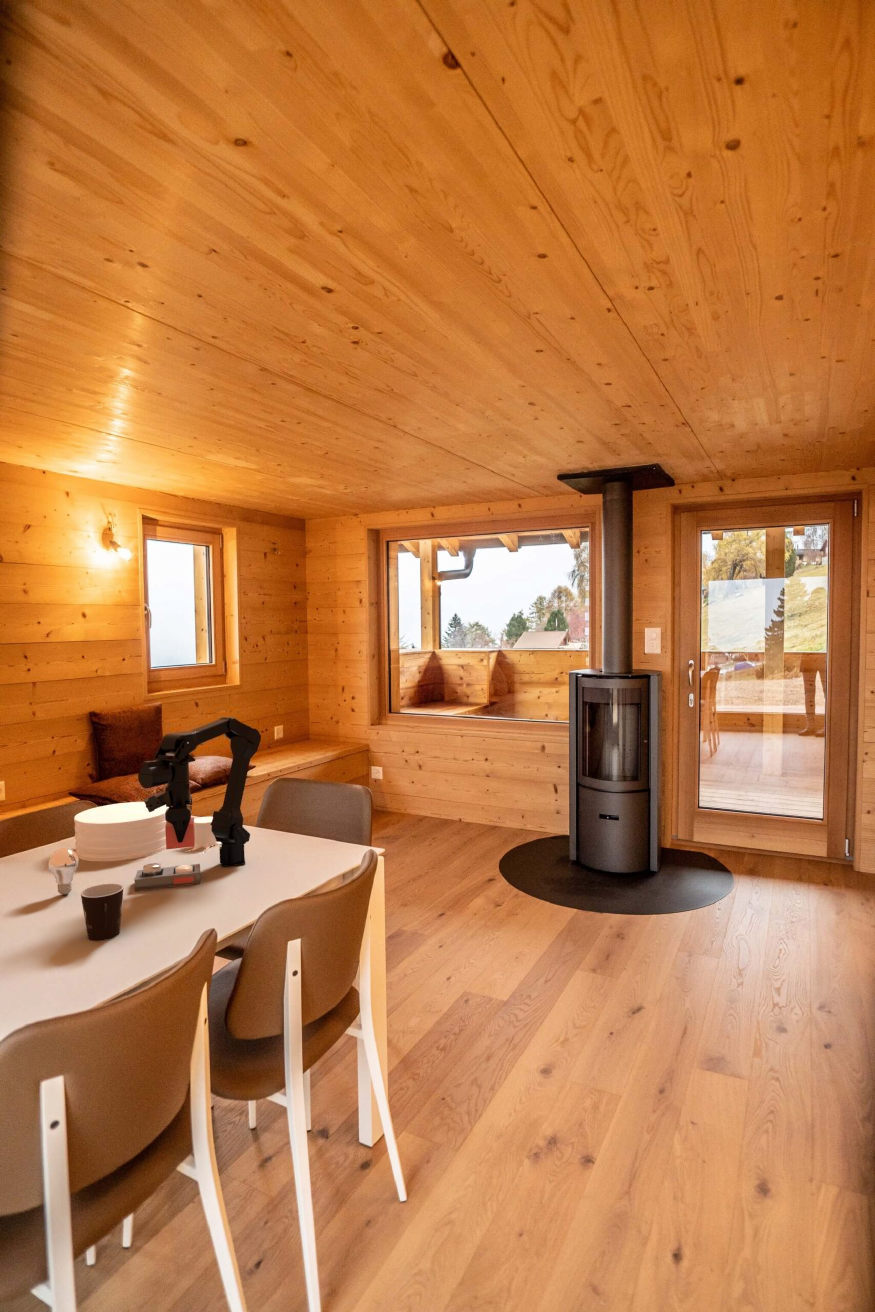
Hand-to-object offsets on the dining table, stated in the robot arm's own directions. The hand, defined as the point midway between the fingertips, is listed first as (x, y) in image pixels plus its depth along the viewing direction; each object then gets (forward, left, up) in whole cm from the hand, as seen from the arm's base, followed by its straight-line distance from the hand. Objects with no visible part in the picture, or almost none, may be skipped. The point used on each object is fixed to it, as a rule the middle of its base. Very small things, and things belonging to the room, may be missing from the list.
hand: (180, 838), depth 196 cm
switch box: (+4, -1, -12) cm, 12 cm away
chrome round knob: (+8, -1, -9) cm, 12 cm away
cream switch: (0, -1, -10) cm, 10 cm away
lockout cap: (0, 0, -2) cm, 2 cm away
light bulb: (+29, 0, -12) cm, 31 cm away
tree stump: (-6, -36, -12) cm, 38 cm away
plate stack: (+19, -41, -12) cm, 47 cm away
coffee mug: (+16, +33, -12) cm, 38 cm away
